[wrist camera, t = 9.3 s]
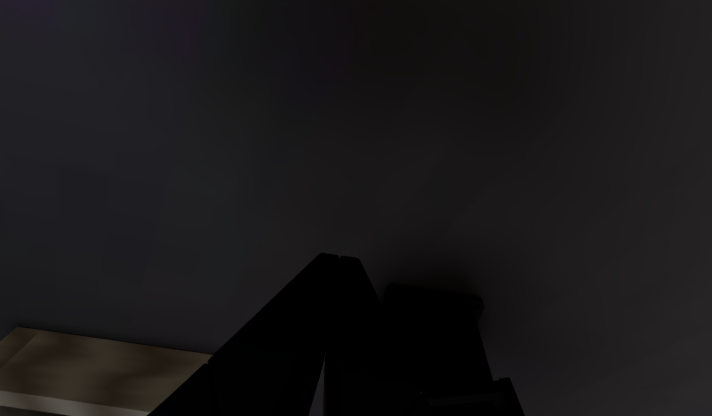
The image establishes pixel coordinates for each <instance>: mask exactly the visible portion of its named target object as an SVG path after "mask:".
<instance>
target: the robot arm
mask: <svg viewBox="0 0 712 416" xmlns="http://www.w3.org/2000/svg"><path fill="white" fill-rule="evenodd" d="M391 292H395V293H393V294H392V293H391ZM474 304H477V305H474ZM483 309H484V304H483V301H482V299H481V298H479V297H475V296H468V295H460V294H453V293H446V292H439V291H432V290H425V289H418V288H411V287H404V286H397V285H390V286H388V287H387V288H386V290H385V295H384V299H383V304H382V305H381V303H380V301H379V299H378V297H377V295H376V293H375V290H374V288H373V286H372V284H371V282H370V280H369V278H368V276H367V274H366V272H365V270H364V267H363V265H362V263H361V261H360V260H359V259H358V258H355V257H348V256H341V257H340V258H339V256H338V255H334V254H326V253H320V254H319V255H318V256H317V257H316V258H315V259H313V260H312V261H311V262H310V263H309V264H308V265H307V266H306V267H305V268H304V269H303V270H302V271H301V272H300V273H299V274H298V275H297V276H296V277H295V278H294V279H292V280H291V281H290V282H289V283H288V284H287V285H286V286H285V287H284V288H283V289H282V290H281V291H280V292H279V293H278V294H277V295H276V296H275V297H274V298H273V299H271V300H270V301H269V302H268V303H267V304H266V305H265V306H264V307H263V308H262V309H261V310H260V311H259V312H258V313H257V314H256V315H255V316H254V317H253V318H252V319H250V320H249V321H248V322H247V323H246V324H245V325H244V326H243V327H242V328H241V329H240V330H239V331H238V332H237V333H236V334H235V335H234V336H233V337H232V338H230V339H229V340H228V341H227V342H226V343H225V344H224V345H223V346H222V347H221V348H220V349H219V350H218V351H217V352H216V353H215V354H214V355H213V356H212V357H211V358H209V359H208V364H206V363H204V364H203V365H202V366H201V367H200V368H199V369H198V370H197V371H196V372H194V373H193V374H192V375H191V376H190V377H189V378H188V379H187V380H186V381H185V382H184V383H183V384H182V385H181V386H179V387H178V388H177V389H176V390H175V391H174V392H173V393H172V394H171V395H170V396H168V397H167V398H166V399H165V400H164V401H163V402H162V403H161V404H160V405H159V406H157V407H156V408H155V409H154V410H153V411H152V412H150V413H149V414H148V415H147V416H308V415H309V412H310V408H311V405H312V401H313V398H314V394H315V391H316V387H317V384H318V381H319V377H320V374H321V370H322V366H323V362H324V358H325V369H324V393H323V416H525V415H524V413H523V410H522V408H521V405H520V403H519V400H518V397H517V395H516V392H515V390H514V387H513V385H512V382H511V380H510V377H509V378H500V379H499V380H498V381H493V379H492V375H491V372H490V368H489V365H488V361H487V357H486V354H485V350H484V347H483V343H482V340H481V336H480V333H479V329H478V326H477V323H478V321H479V318H480V316H481V313H482V311H483ZM325 353H326V356H325Z"/></svg>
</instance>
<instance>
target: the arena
mask: <svg viewBox="0 0 712 416" xmlns="http://www.w3.org/2000/svg"><path fill="white" fill-rule="evenodd" d="M212 356H213V355H211V354H204V353H197V352H190V351H183V350H176V349H169V348H162V347H155V346H148V345H142V344H135V343H128V342H121V341H114V340H107V339H100V338H93V337H86V336H79V335H72V334H65V333H58V332H51V331H44V330H37V329H30V328H23V327H16V328H15V329H14V330H13V331H12V332H11V333H9V334H8V335H7V336H6V337H5V338H4V339H3V340H1V341H0V416H147V415H148V414H149V413H150V412H152V411H153V410H154V409H155V408H156V407H157V406H159V405H160V404H161V403H162V402H163V401H164V400H165V399H166V398H167V397H168V396H170V395H171V394H172V393H173V392H174V391H175V390H176V389H177V388H178V387H179V386H181V385H182V384H183V383H184V382H185V381H186V380H187V379H188V378H189V377H190V376H191V375H192V374H193V373H194V372H196V371H197V370H198V369H199V368H200V367H201V366H202V365H203V364H204V363H206V364H208V359H209V358H211V357H212Z"/></svg>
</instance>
